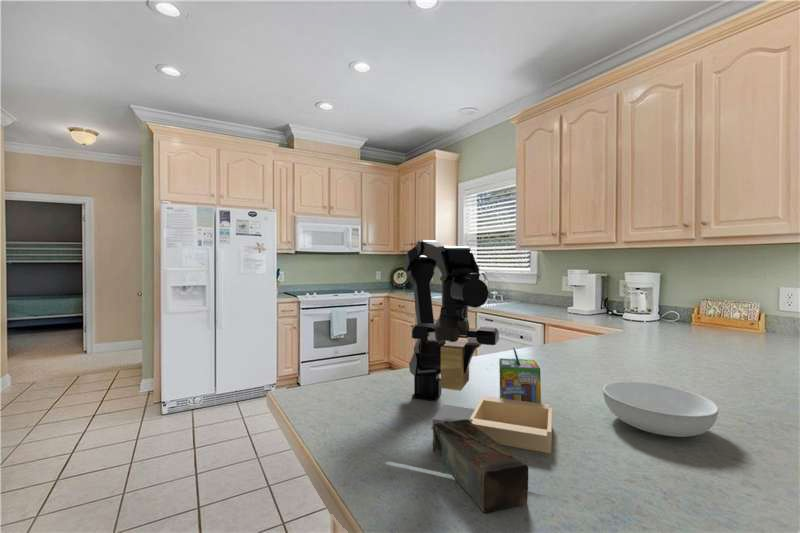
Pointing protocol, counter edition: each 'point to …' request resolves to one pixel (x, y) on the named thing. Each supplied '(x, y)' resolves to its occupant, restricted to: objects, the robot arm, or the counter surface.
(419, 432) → the counter surface
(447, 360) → the brown wooden block
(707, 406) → the serving bowl
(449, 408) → the trivet
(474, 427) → the beverage carton
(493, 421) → the wooden tray
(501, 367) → the chalk box
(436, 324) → the robot arm
